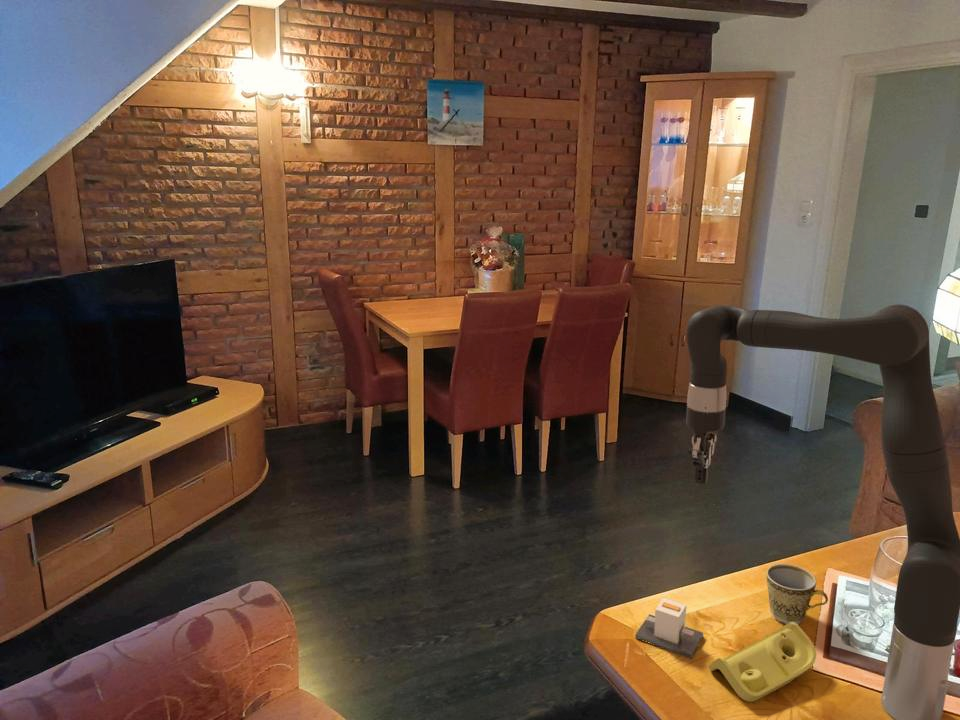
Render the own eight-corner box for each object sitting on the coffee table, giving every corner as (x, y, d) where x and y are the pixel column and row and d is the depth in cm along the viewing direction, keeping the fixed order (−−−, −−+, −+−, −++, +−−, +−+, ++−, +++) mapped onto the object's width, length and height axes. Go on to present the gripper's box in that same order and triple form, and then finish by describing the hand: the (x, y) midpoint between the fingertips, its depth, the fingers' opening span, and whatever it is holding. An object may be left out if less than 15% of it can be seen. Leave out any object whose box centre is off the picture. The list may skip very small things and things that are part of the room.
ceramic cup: (754, 615, 155) (758, 576, 152) (775, 596, 161) (779, 558, 158) (813, 643, 145) (818, 602, 143) (833, 622, 152) (838, 582, 149)
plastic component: (751, 700, 128) (716, 651, 134) (737, 716, 133) (704, 668, 139) (826, 659, 135) (790, 615, 142) (811, 676, 140) (776, 632, 147)
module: (684, 631, 149) (686, 603, 147) (677, 643, 145) (678, 616, 143) (662, 623, 151) (663, 596, 149) (654, 635, 147) (655, 608, 146)
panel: (703, 636, 148) (703, 624, 147) (691, 658, 142) (692, 646, 141) (649, 618, 155) (649, 606, 154) (635, 638, 148) (636, 626, 148)
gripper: (715, 417, 134) (710, 499, 138) (733, 398, 144) (728, 474, 149) (677, 411, 138) (673, 490, 143) (697, 392, 148) (693, 466, 153)
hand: (701, 482), depth 146 cm, fingers closed
